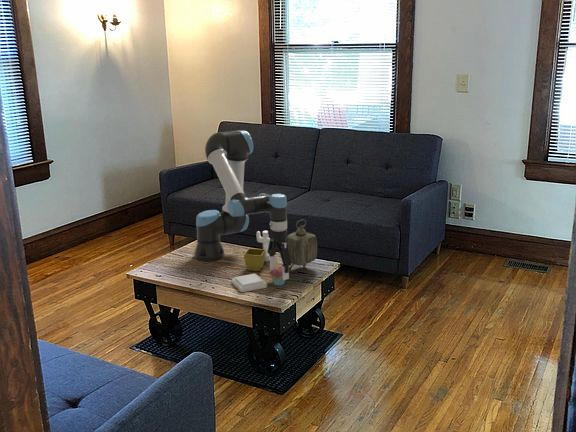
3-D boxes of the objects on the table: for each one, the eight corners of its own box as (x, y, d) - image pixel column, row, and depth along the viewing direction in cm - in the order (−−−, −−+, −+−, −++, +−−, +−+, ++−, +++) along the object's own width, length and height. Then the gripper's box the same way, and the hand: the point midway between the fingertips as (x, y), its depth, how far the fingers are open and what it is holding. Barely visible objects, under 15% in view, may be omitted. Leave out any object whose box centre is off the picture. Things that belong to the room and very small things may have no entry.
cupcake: (282, 288, 269) (282, 263, 265) (266, 284, 273) (265, 259, 269) (291, 281, 276) (291, 257, 273) (275, 278, 280) (275, 254, 277)
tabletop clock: (304, 263, 299) (304, 214, 292) (318, 267, 293) (319, 218, 286) (284, 271, 289) (284, 221, 282) (298, 275, 283) (298, 224, 276)
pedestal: (232, 282, 275) (231, 276, 274) (256, 278, 280) (256, 272, 279) (241, 292, 265) (241, 285, 264) (266, 287, 270) (266, 281, 269)
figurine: (271, 263, 299) (270, 234, 295) (254, 260, 303) (253, 232, 298) (277, 258, 305) (277, 230, 301) (260, 256, 309) (260, 228, 305)
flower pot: (261, 273, 286) (261, 255, 284) (243, 272, 288) (243, 254, 285) (266, 266, 295) (265, 249, 292) (248, 265, 296) (248, 248, 294)
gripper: (259, 223, 276) (260, 266, 282) (282, 237, 255) (283, 284, 260) (274, 221, 279) (275, 264, 285) (298, 235, 258) (299, 281, 263)
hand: (279, 274), depth 273 cm, fingers open, 13 cm apart
